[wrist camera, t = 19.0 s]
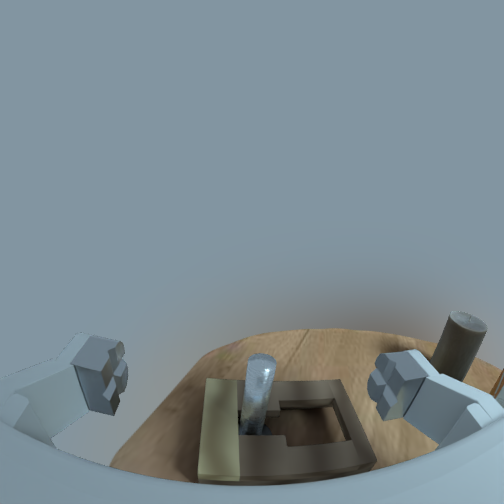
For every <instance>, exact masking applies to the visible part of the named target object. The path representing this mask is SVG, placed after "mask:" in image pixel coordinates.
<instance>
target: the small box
mask: <svg viewBox="0 0 504 504" xmlns="http://www.w3.org/2000/svg"><path fill="white" fill-rule="evenodd" d="M489 394H490V395H492V396H493V398H494V399H495V400H496V401H497V402H498V403H499V404H500V405H501V406H502V408H503V409H504V369H503V371H502V373H501V374H500V376H499V378H498V380H497V382H496V383H495V385H494V387H493V388H492V390H491V392H490V393H489Z"/></svg>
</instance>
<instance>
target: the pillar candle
mask: <svg viewBox="0 0 504 504" xmlns="http://www.w3.org/2000/svg"><path fill="white" fill-rule="evenodd" d="M486 332H487V325H486V324H485V323H484V322H483V321H482V320H481V319H479V318H478V317H476V316H473V315H471V314H468V313H465V312H459V311H456V312H451V313H450V315H449V318H448V320H447V323H446V326H445V328H444V330H443V333H442V336H441V338H440V340H439V343H438V345H437V347H436V349H435V352H434V354H433V356H432V358H431V360H430V362H429V363H430V364H431V365H432V366H433V367H434V368H435V369H436V370H437V372H438V373H439V374H445V375H447V376H449V377H451V378H453V379H456V380H458V381H460V382H462V381H463V379H464V378H465V376H466V374H467V372H468V370H469V368H470V366H471V364H472V362H473V360H474V358H475V356H476V354H477V352H478V350H479V347H480V345H481V343H482V341H483V338H484V336H485V334H486Z"/></svg>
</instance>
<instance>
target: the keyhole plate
mask: <svg viewBox="0 0 504 504" xmlns="http://www.w3.org/2000/svg"><path fill="white" fill-rule="evenodd" d="M244 389H245V380H227V379H213V378H207V379H206V388H205V398H204V407H203V418H202V428H201V439H200V451H199V463H198V482H199V484H210V485H228V486H268V485H286V484H298V483H307V482H315V481H323V480H329V479H335V478H341V477H346V476H351V475H356V474H361V473H365V472H369V471H370V469H371V468H372V467H373V466H374V464H375V463H376V462H377V459H376V457H375V454H374V452H373V450H372V448H371V445H370V443H369V441H368V439H367V436H366V434H365V432H364V430H363V428H362V425H361V423H360V421H359V419H358V417H357V414H356V412H355V410H354V408H353V406H352V404H351V401H350V399H349V397H348V395H347V393H346V391H345V389H344V386H343V384H342V382H341V380H340V379H338V380H320V381H273V383H272V388H271V393H270V398H269V402H268V407H267V412H266V416H265V417H279V414H280V409H306V408H322V407H333V408H334V411H335V413H336V416H337V419H338V421H339V424H340V426H341V429H342V432H343V434H344V437H345V439H346V441H342V442H335V443H327V444H318V445H307V446H293V447H287V443H286V437H285V435H238V417H241V412H242V404H243V397H244Z"/></svg>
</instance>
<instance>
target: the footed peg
mask: <svg viewBox="0 0 504 504" xmlns="http://www.w3.org/2000/svg"><path fill="white" fill-rule="evenodd" d="M275 368H276V360H275V359H274V358H273V357H272V356H270V355H267V354H261V353H259V354H254V355H252V356H250V357H249V359H248V365H247V373H246V381H245V389H244V397H243V404H242V412H241V420H240V421H238V435H272V433H271V431H270V429H269V428H268V427H267V426H266V425H265V424H264V421H265V416H266V412H267V407H268V402H269V398H270V393H271V388H272V383H273V378H274V374H275Z"/></svg>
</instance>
